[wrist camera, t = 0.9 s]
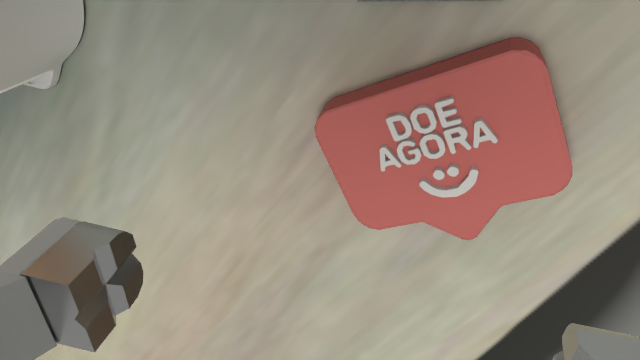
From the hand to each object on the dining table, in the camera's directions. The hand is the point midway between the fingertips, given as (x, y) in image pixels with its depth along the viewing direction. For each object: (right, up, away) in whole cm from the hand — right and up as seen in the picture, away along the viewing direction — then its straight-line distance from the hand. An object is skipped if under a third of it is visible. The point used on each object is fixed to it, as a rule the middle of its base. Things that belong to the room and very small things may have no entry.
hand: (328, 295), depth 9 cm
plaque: (+10, +5, +33) cm, 35 cm away
